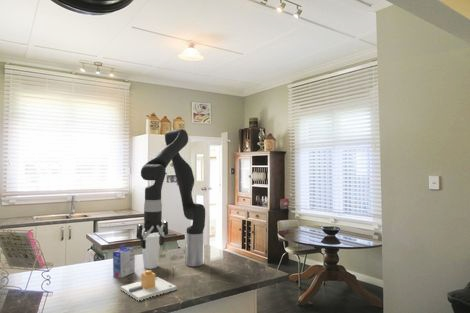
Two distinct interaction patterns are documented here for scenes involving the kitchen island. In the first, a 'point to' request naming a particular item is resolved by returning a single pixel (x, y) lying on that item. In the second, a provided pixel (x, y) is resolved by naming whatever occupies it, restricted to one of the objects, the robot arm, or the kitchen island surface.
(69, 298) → the kitchen island surface
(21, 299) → the kitchen island surface
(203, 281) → the kitchen island surface
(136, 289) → the plate
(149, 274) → the cube with dome knob
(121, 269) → the ink cartridge box
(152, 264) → the cup
